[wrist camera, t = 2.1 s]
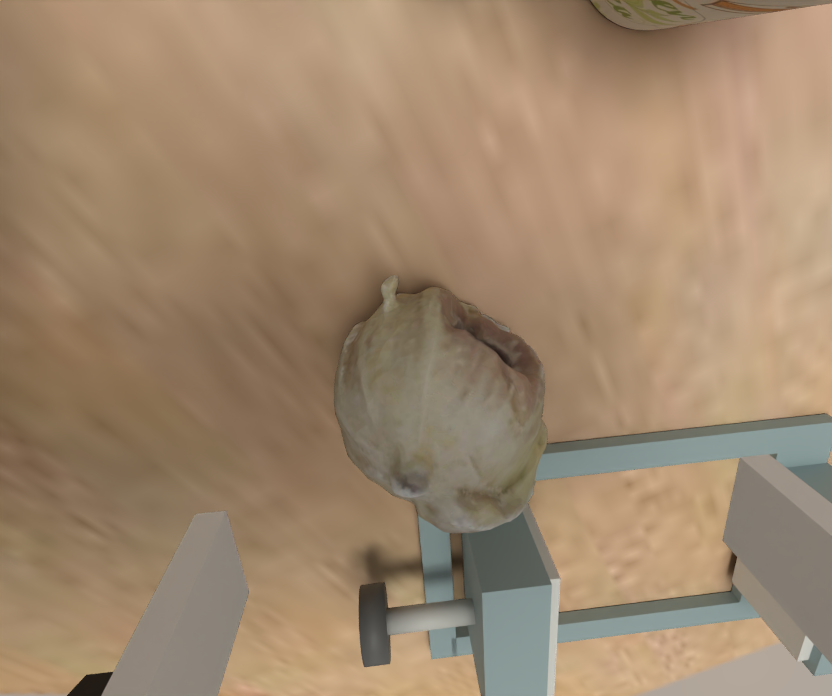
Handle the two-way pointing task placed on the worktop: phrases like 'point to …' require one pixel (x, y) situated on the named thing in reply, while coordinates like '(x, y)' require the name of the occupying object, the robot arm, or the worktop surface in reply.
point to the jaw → (486, 611)
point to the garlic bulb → (442, 409)
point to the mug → (689, 11)
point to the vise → (780, 438)
